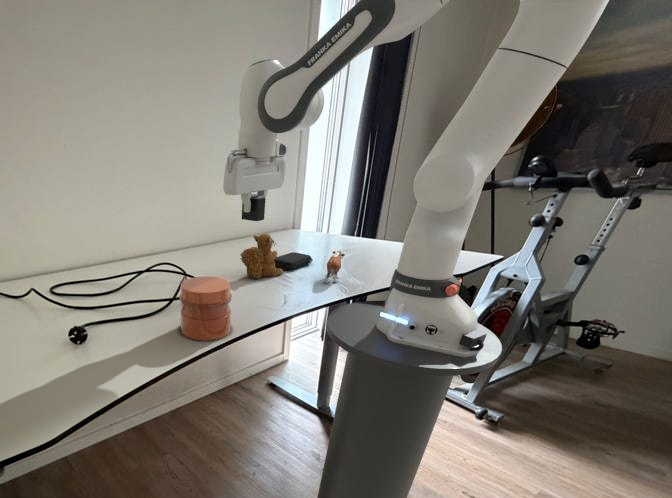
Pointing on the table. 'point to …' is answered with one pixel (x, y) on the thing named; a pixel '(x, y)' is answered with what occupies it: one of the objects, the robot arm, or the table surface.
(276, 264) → the carrying case
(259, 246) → the stuffed squirrel
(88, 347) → the table surface
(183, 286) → the orange short cylinder
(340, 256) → the bull figurine
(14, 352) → the table surface
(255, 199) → the black block
